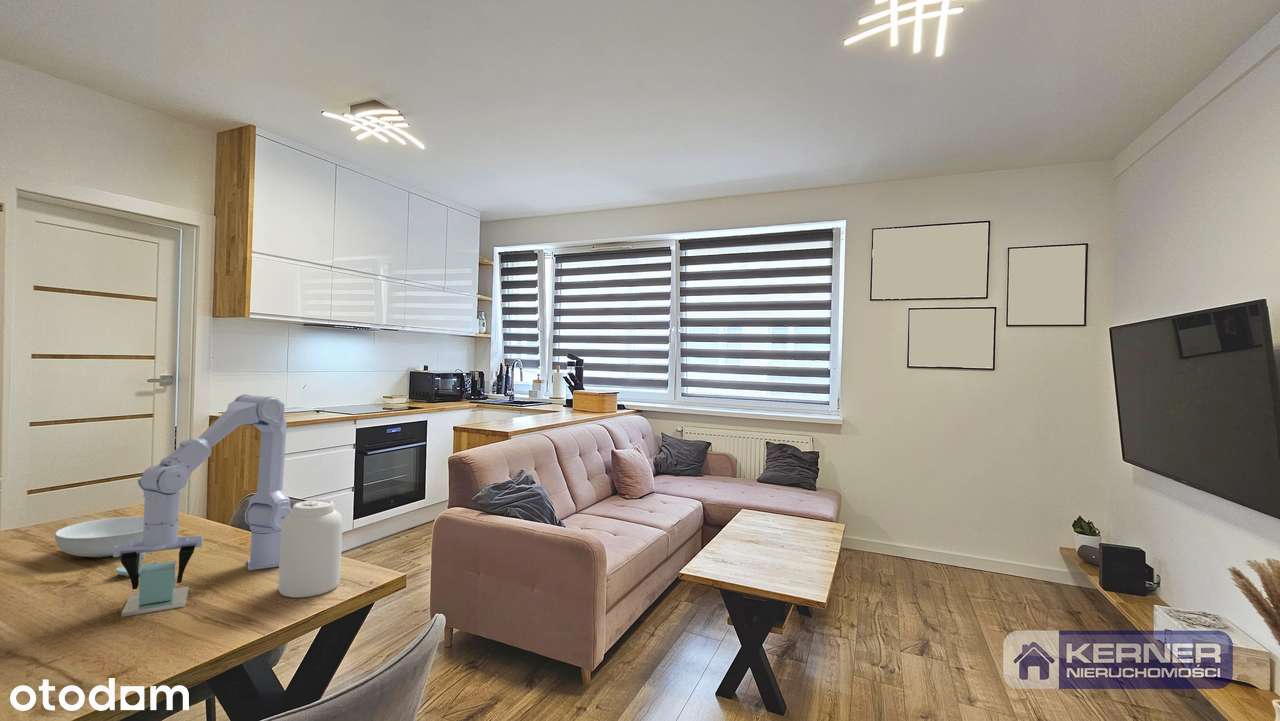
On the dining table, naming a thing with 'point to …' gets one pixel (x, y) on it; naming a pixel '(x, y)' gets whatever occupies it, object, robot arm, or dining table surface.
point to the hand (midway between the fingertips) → (157, 584)
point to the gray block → (134, 607)
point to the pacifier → (142, 555)
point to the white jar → (310, 549)
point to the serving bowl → (99, 536)
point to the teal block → (157, 582)
